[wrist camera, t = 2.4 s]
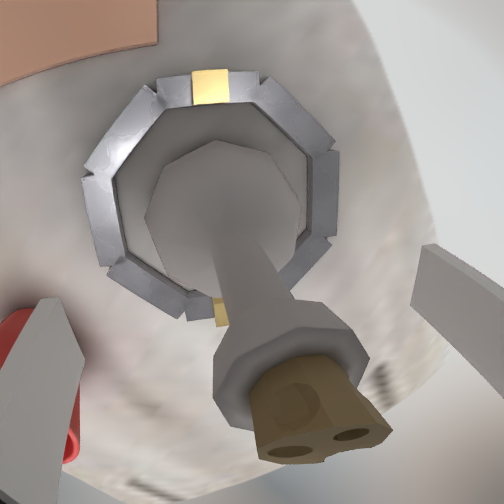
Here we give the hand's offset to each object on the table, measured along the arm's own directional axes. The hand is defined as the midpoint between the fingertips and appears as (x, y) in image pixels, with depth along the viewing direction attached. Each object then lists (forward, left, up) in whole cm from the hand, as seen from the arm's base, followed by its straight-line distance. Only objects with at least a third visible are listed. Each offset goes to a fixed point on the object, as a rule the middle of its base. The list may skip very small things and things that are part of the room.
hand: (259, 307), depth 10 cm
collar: (0, 0, -12) cm, 12 cm away
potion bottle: (0, 0, -12) cm, 12 cm away
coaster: (-17, -9, -12) cm, 23 cm away
